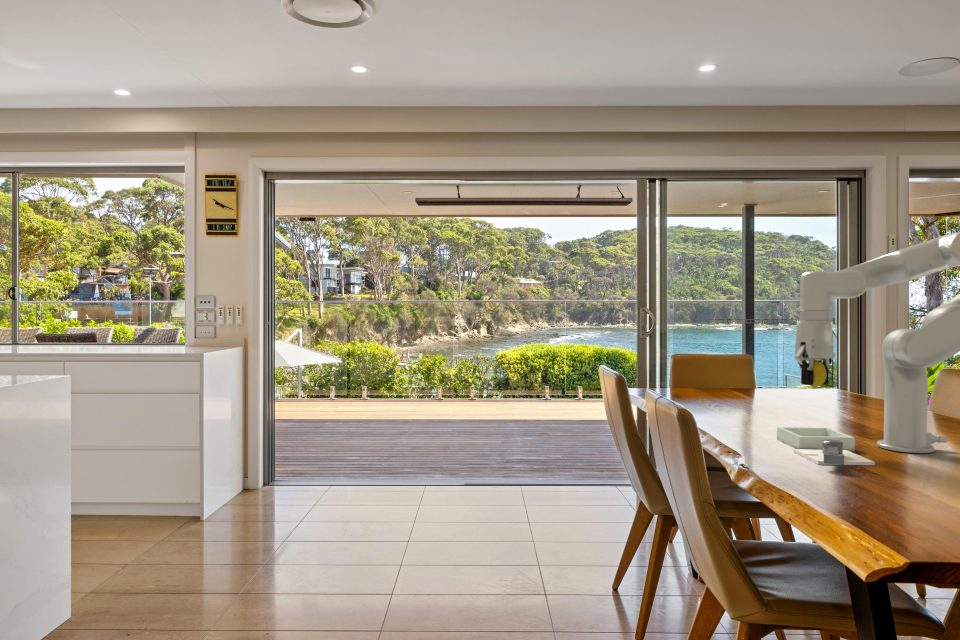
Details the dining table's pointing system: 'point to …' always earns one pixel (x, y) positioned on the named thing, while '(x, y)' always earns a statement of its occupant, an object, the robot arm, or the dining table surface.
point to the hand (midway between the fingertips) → (814, 383)
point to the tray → (813, 437)
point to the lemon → (818, 374)
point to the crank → (833, 452)
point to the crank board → (818, 458)
